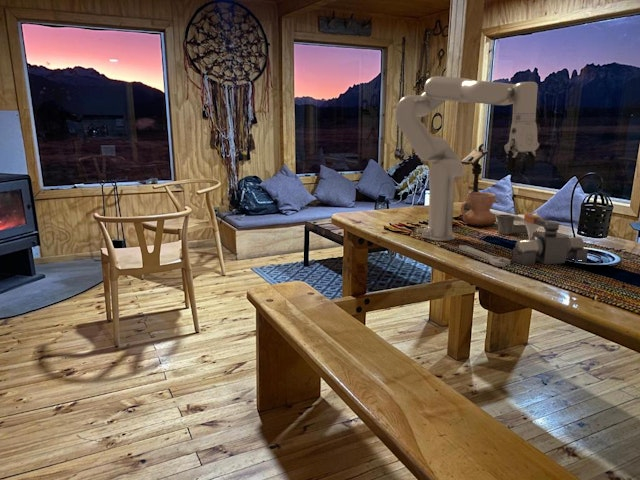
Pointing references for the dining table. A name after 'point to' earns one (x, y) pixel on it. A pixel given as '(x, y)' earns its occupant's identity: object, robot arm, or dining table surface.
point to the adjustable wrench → (487, 256)
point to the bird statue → (474, 168)
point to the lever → (541, 222)
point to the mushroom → (530, 225)
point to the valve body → (549, 248)
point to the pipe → (509, 225)
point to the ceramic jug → (479, 209)
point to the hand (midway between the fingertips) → (520, 168)
